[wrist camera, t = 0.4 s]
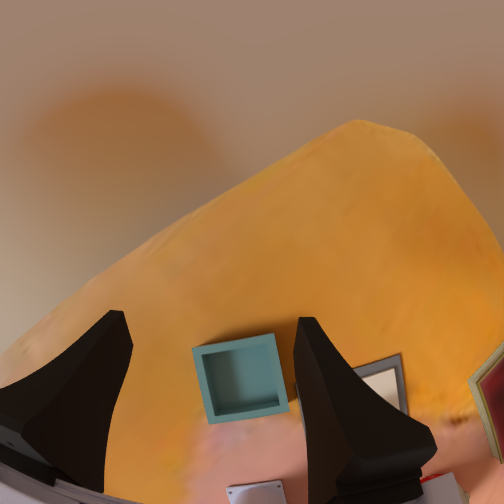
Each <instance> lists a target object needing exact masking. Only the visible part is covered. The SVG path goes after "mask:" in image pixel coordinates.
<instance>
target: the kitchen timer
mask: <svg viewBox="0 0 504 504" xmlns="http://www.w3.org/2000/svg"><path fill="white" fill-rule="evenodd" d="M442 475H444V474H435V475H432V476H429V477H426V478H424V479H422V480H420V482H421V484H422V483H424V482H426V481H428V480H431V479H433V478H436V477H439V476H442ZM456 483H457V486H458V489H459V492H460V496H461V499H462V502H463V504H469V498H470V496H469V494H468V493H467V492H466V491H463V489H462V487H461V486H460V485H459V484H458V482H457V481H456Z"/></svg>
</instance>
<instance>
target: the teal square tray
mask: <svg viewBox="0 0 504 504" xmlns="http://www.w3.org/2000/svg"><path fill="white" fill-rule="evenodd" d="M192 352H193V357H194V362H195V367H196V371H197V376H198V380H199V385H200V389H201V394H202V398H203V402H204V407H205V411H206V415H207V419H208V423H209V424H216V423H224V422H232V421H239V420H245V419H252V418H258V417H263V416H269V415H274V414H279V413H284V412H289V411H290V410H289V405H288V400H287V395H286V390H285V385H284V380H283V375H282V370H281V365H280V360H279V356H278V351H277V346H276V341H275V336H274V333H273V332H271V333H266V334H261V335H256V336H251V337H245V338H240V339H235V340H229V341H224V342H218V343H212V344H206V345H200V346H196V347H193V348H192Z"/></svg>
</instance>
